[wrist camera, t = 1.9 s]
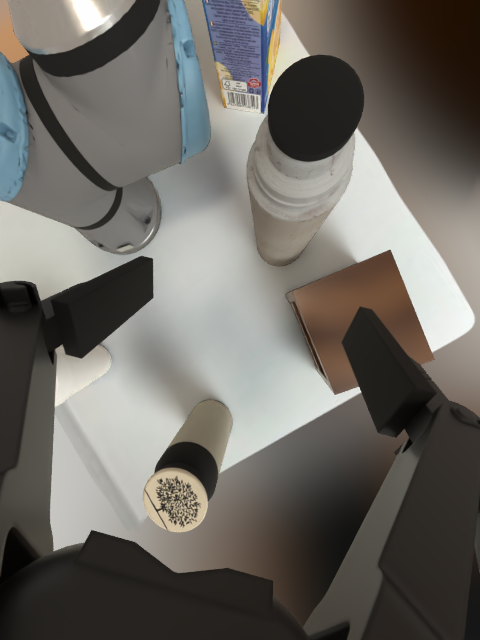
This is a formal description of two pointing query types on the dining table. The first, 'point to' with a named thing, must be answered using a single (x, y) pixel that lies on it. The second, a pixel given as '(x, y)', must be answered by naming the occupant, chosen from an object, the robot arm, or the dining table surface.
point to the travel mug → (189, 469)
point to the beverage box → (244, 49)
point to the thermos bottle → (303, 154)
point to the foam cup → (78, 371)
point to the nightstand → (341, 307)
